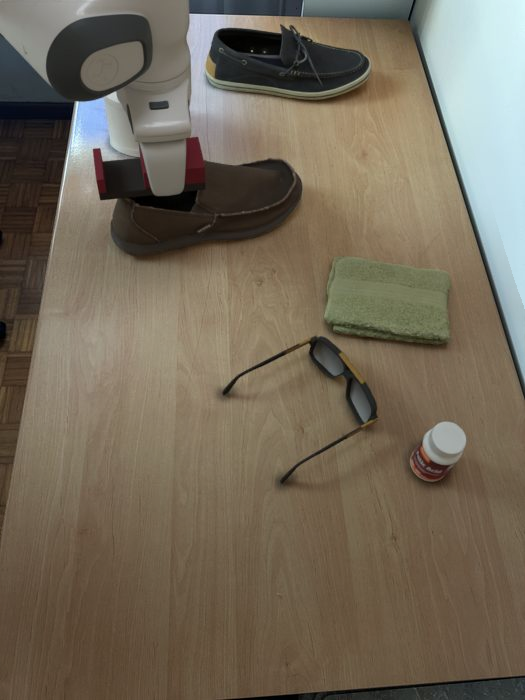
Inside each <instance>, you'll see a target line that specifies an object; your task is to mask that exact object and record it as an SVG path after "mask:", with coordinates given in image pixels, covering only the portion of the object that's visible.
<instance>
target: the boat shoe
mask: <svg viewBox="0 0 525 700" xmlns="http://www.w3.org/2000/svg"><path fill="white" fill-rule="evenodd" d="M279 27H280V32H281V33H280V32H274V31H268V30H261V29H253V28H242V27H221V28H219V29H217V30H216V31H215V32H214V33H213V36H212V40H211V43H210V47H209V51H208V54H207V56H206V60H205V63H204V71H205V74H206V77H207V80H208V81H209V82H210V84H212V86H214V87H216V88H218V89H222V90H228V91H236V92H246V93H247V92H248V93H255V94H263V95H270V96H276V97H282V98H288V99H297V100H310V101H317V100H326V99H330V98H334V97H338V96H341V95H343V94H346V93H349V92H351V91H353V90H356V89H357V88H359V87H360V86H362V85H363V84H364V83H366V82H367V80H369V78H370V76H371V73H372V67H373V66H372V62H371V59H370V58H369V57H368V56H367V55H366V54H364V53H362V52H361V51H359V50H357V49H351V48H343V47H337V46H332V45H328V44H325V43H320V42H316V41H314V40H313V39H312V38H310V37H308V36H305V35H303V34H301V32H299V31H298V30H297V28H296V27H295V26H294V25H293V24H289V25H288V27H289V28H287V27H286V26H284V25H283V24H282V23H280V24H279Z"/></svg>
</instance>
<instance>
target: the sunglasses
mask: <svg viewBox="0 0 525 700" xmlns="http://www.w3.org/2000/svg"><path fill="white" fill-rule="evenodd" d="M308 344H309V346H310V347H309V351H308V355H309V357H310V359H311V361H312V362H314V364H316V366H317V367H318V368H319V369H320V370H321V371H322V372H323V373H324V374H325V375H326V376H327V377H329V378H330V379H336V378H339V377H341V376H342V377H343V378H344V379H345V381H346V383H345V399H346V402H347V404H348V406H349V407H350V409H351V411H352V413H353V415H354V417H355V418H356V420H357V422H358V423H359V424H360V426H358V427H357V428H354V429H353V430H351V431H349V432H347V433H346V434H345V435H343V436H341V437H340V438H338V439H336V440H334V441H333V442H331V443H329V444H327V445H325V446H324V447H322V448H321V449H319V450H317V451H316V452H314V453H312V454H310V455H309V456H306V457H305V458H303V459H302V460H300V461H299V462H297V463H295V464H294V465H293V467H292V468H290V469H289V470H288V471H287V472H286V473H285V474H284V475H283V476H282V477H281V478H280V479H279V483H280V484H283V483H285V482H286V481H287V480H288V479H290V478H289V477H291V475H292V474H293V473H294V472H295V471H296V470H297V469H298V468H299V467H300V466H301V465H302V464H305V463H306V462H308V461H309V460H311V459H313V458H315V457H316V456H318V455H320V454H323V453H324V452H326V451H328V450H329V449H331V448H333V447H334V446H336V445H338V444H340V443H342V442H343V441H345V440H348V439H349V438H351V437H353V436H355V435H356V434H358V433H360V432H361V431H363V430H364V429H366V428H368V427H370V426H371V425H373V424H375V423H377V422H378V421H379V420H380V419H381V417H380V415H379V414H378V404H377V400H376V399H375V396H374V395H373V392H372V390H371V388H370V387H369V385H368V383H367V381H366V380H365V378H364V377H363V376H362V375H361V373H360V372H359V371H358V369H357V368H356V366H355V365H354V364H353V363H352V362H351V360H350V359H349V358H348V357H347V355H346V354H345V352H343V351H342V350H341V349H340V348H339V347H338V346H337V345H336V344H334V343H333V341H332V340H330V339H329V338H328V337H326V336H322V335H320V336H319V335H318V334H315V335H313V336H310V337H308V338H306V339H305V340H303V341H301V342H299V343H297V344H295V345H292V346H291V347H288V348H287V349H284V350H282V351H281V352H278V353H277V354H275V355H273V356H270V357H269V358H267V359H265V360H263V361H262V362H259V363H257V364H256V365H253V366H252V367H250V368H248V369H245V370H244V371H242V372H240V373H238V374H236V376H234V378H232V380H230V381H229V383H227V385H226V386H225V388H223V390H222V392H221V395H222V396H226V395H227V394H229V393H230V392H231V390H232V389H233V387H234V385H235V384H236V383H237V381H238V380H239V379H240V378H242V377H243V376H245V375H247V374H248V373H252V372H253V371H256V370H257V369H260V368H262V367H264V366H266V365H268V364H270V363H273V362H275V361H276V360H278V359H281V358H282V357H284V356H286V355H289V354H290V353H292V352H294V351H296V350H299V349H300V348H302V347H304V346H306V345H308Z"/></svg>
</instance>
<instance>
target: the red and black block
mask: <svg viewBox="0 0 525 700" xmlns="http://www.w3.org/2000/svg"><path fill="white" fill-rule="evenodd" d="M138 144H139V152H140V157H134V158H123V159H113V160H103V155H102V151H101V147H97V148H92V155H93V156H92V157H93V163H94V165H93V166H94V172H95V174H94V175H95V181H96V187H97V191H98V197H99V201H111V200H117V199H120V198H130V197H139V196H149V195H154V194H153V192H152V189H151V186H150V183H149V179H148V175H147V171H146V167H145V163H144V159H143V155H142V151H141V147H140V143H138ZM201 147H202V146H201V142H200V138H199V136H192V137H190V138H186V167H185V183H184V189H183V191H182V192H187V191H197V190H205V189H206V185H205V164H204V155H203V151H202V148H201Z"/></svg>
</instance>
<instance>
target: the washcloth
mask: <svg viewBox="0 0 525 700" xmlns="http://www.w3.org/2000/svg"><path fill="white" fill-rule="evenodd" d="M450 277H451V276H450V274H449V273H448V272H447V271H445V270H443V269H437V268H422V267H417V266H410V265H406V264H399V263H390V262H384V261H378V260H373V259H368V258H364V257H359V256H358V257H357V256H344V255H343V256H336V257H334V258H333V260H332V264H331V270H330V273H329V276H328V279H327V283H326V294H327V301H326V307H325V311H324V315H323V322H325V323H326V324H327V325H330V326H332V325H333V326H332V327H333V328H332V332H333V333H336V334H338V335H342V334H344V335H349V336H358V337H361V338H362V337H363V338H366V337H367V338H369V337H371V338H375V339H381V340H390V341H397V342H401V341H402V342H406V343H413V342H414V343H419V344H420V343H422V344H427V345H428V344H432V345H433V346H434V345H436V346H437V345H441V344H442V345H443V344H447V343H449V342H450V340H451V331H450V330H451V326H450V323H449V321H450V312H449V311H448V299H449V296H450V291H451V290H450V289H451V287H452V284H451V283H452V281H451V278H450Z"/></svg>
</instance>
